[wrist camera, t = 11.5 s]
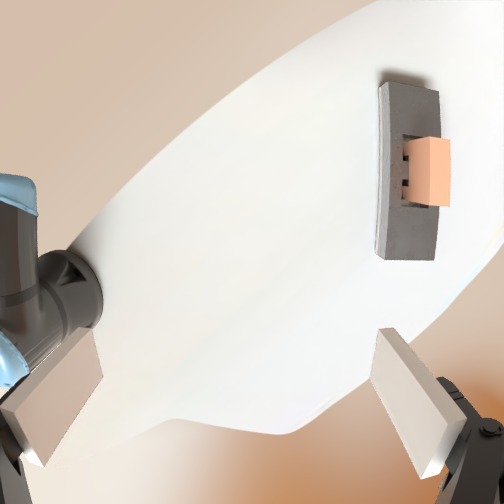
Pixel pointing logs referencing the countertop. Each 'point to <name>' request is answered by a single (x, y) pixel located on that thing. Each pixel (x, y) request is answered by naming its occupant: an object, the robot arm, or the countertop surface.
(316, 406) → the countertop surface
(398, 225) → the rail
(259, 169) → the countertop surface
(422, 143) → the tall peach block
